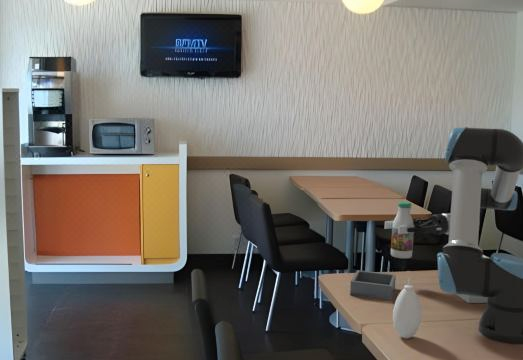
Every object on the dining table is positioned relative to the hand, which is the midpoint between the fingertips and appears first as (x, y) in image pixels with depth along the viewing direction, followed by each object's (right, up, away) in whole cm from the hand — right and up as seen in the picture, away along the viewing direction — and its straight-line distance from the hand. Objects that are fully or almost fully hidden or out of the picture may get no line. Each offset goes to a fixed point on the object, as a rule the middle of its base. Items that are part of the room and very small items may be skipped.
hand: (392, 227), depth 213 cm
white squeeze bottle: (-6, -28, -43) cm, 52 cm away
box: (-8, -22, -4) cm, 24 cm away
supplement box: (+27, -24, -8) cm, 37 cm away
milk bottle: (+4, -11, +4) cm, 12 cm away
